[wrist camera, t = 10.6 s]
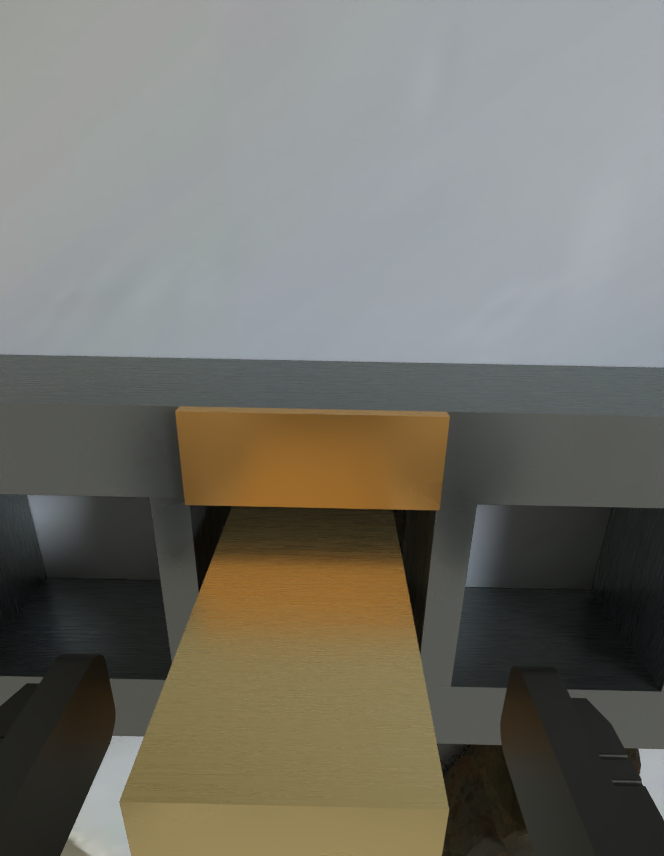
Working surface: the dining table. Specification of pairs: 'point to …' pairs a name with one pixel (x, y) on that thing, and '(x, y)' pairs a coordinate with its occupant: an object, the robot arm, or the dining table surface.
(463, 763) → the dark brown rough bar
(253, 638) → the post
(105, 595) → the grey slotted holder
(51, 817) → the robot arm
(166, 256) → the dining table surface
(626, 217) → the dining table surface
